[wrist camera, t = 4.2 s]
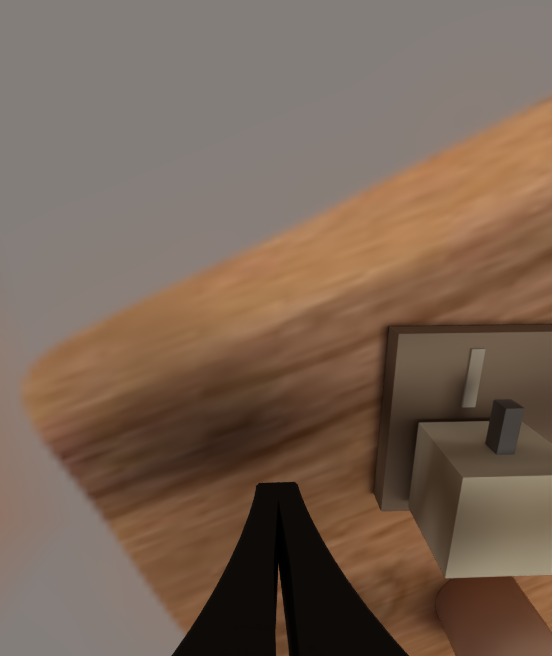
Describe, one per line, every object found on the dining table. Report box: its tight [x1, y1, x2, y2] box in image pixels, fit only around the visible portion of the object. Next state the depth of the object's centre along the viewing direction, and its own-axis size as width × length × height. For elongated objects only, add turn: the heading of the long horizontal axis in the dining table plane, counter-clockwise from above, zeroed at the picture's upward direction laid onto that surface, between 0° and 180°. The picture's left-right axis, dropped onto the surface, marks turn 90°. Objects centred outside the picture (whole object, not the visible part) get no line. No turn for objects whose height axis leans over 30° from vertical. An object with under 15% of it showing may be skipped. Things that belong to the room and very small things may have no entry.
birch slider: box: [408, 399, 552, 578], centre depth 12 cm, size 6×4×3 cm
